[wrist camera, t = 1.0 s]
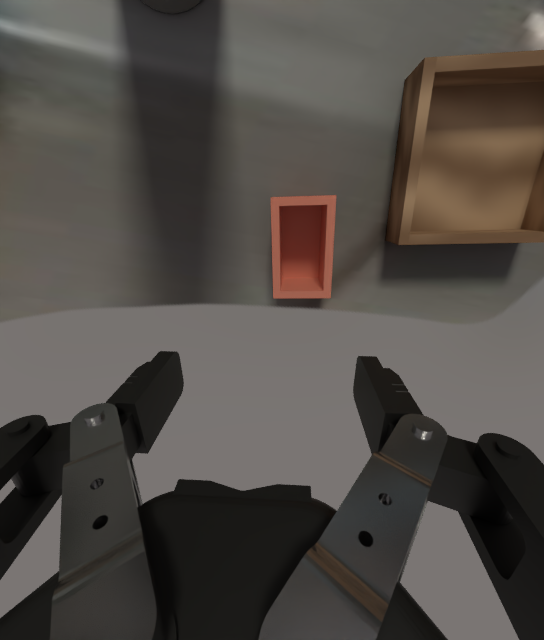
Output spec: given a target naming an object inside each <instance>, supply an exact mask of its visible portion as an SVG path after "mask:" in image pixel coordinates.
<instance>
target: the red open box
mask: <svg viewBox="0 0 544 640" xmlns="http://www.w3.org/2000/svg"><path fill="white" fill-rule="evenodd" d="M335 210H336V195H329V196H297V197H271V227H272V265H273V298H331V282H332V264H333V246H334V228H335Z"/></svg>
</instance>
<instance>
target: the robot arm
mask: <svg viewBox="0 0 544 640" xmlns="http://www.w3.org/2000/svg"><path fill="white" fill-rule="evenodd" d="M141 1H142V2H143V3H145V4H146V5H148V6H149V7H151V8H152V9H155V10H157V11H160V12H163V13H174V14H176V13H180V12H184V11H187V10H189V9H191V8H192V7H194V6H196V5H197V4H198V3H199V2H200V1H201V0H141ZM183 384H184V382H183V375H182V370H181V363H180V357H179V354H178V353H177V352H167V351H160V352H159V353H158V354H157V355H156V356H155V357H154V358H153V360H152V361H151V362H146V363H145V364H143V365H142V366H140V367H138V368H137V369H136V370H135V371H134V372H133V373H132V374H131V375H130V377H129V378H128V379H127V380H126V381H125V383H123V384H122V385H121V386H120V387H119V389H118V390H117V391H116V392H115V393H114V394H113V395H112V396H111V397H110V398H109V399H108V401H107V402H106V403H101V404H96V405H93V406H90V407H88V408H86V409H84V410H82V411H81V412H79V413H78V414H77V415H76V416H75V417H74V418H73V419H72V421H71V422H68V423H62V424H57V425H52V426H48V424H47V422H46V420H45V418H44V417H43V416H40V415H31V416H26V417H22V418H19V419H17V420H14V421H12V422H10V423H8V424H6V425H5V426H3V427H1V428H0V490H1V489H2V488H3V486H4V485H5V484H6V483H7V482H8V481H9V480H10V479H12V481H13V483H14V484H15V486H16V487H15V488H14V489H13V490H12V491H11V492H10V494H9V495H8V496H7V497H6V498H5V499H4V500H3V501H2V502H1V504H0V580H1V578H2V577H3V575H4V574H5V573H6V571H7V570H8V568H9V567H10V566H11V564H12V563H13V561H14V560H15V559H16V557H17V556H18V554H19V553H20V552H21V550H22V549H23V548H24V546H25V545H26V543H27V542H28V541H29V539H30V538H31V536H32V535H33V534H34V532H35V531H36V529H37V528H38V527H39V525H40V524H41V522H42V521H43V519H44V518H45V517H46V516H47V514H48V513H49V511H50V510H51V509H52V507H53V506H54V504H55V503H56V501H57V500H58V499H59V497H60V496H61V495H62V506H61V534H60V561H59V571H58V572H57V573H56V574H55V575H53V576H52V577H51V578H50V579H49V580H47V581H46V582H45V583H43V584H42V585H41V586H40V587H39V588H37V589H36V590H35V591H34V592H32V593H31V594H30V595H29V596H27V597H26V598H25V599H24V600H22V601H21V602H20V603H19V604H17V605H16V606H15V607H14V608H13V609H11V610H10V611H9V612H8V613H6V614H5V615H4V616H3V617H1V618H0V640H448V639H447V638H446V637H445V636H444V635H443V633H442V632H441V631H440V630H439V629H438V627H437V626H436V625H435V624H434V623H433V622H432V620H431V619H430V618H429V617H428V616H427V614H426V613H425V612H424V611H423V609H422V608H421V607H420V606H419V605H418V604H417V602H416V601H415V600H414V599H413V598H412V597H411V595H410V594H409V593H408V592H407V590H406V589H405V588H404V587H403V586H402V584H401V583H400V581H401V578H402V575H403V572H404V569H405V566H406V563H407V560H408V557H409V554H410V551H411V548H412V545H413V542H414V539H415V536H416V534H417V531H418V528H419V525H420V522H421V519H422V516H423V513H424V510H425V508H426V504H427V502H428V501H430V502H433V503H436V504H439V505H442V506H445V507H447V508H450V509H453V510H456V511H458V512H459V514H460V516H461V519H462V521H463V523H464V525H465V527H466V529H467V531H468V533H469V535H470V538H471V540H472V542H473V544H474V546H475V548H476V550H477V552H478V554H479V556H480V558H481V560H482V563H483V565H484V567H485V569H486V571H487V573H488V575H489V577H490V579H491V581H492V583H493V585H494V588H495V590H496V592H497V594H498V596H499V598H500V600H501V602H502V604H503V606H504V608H505V611H506V613H507V615H508V617H509V619H510V621H511V623H512V625H513V627H514V629H515V632H516V633H517V635H518V638H519V640H544V465H543V463H541V461H540V460H539V459H538V458H537V457H536V455H535V454H534V453H533V452H532V451H531V450H530V449H528V448H527V447H526V446H524V445H523V444H521V443H519V442H518V441H516V440H514V439H512V438H510V437H507V436H504V435H500V434H495V433H487V434H483V435H482V436H480V437H479V440H478V442H477V443H473V442H470V441H466V440H462V439H458V438H455V437H452V436H449V435H447V432H446V431H445V429H444V428H443V427H442V426H441V425H440V424H439V423H438V422H436V421H435V420H433V419H431V418H429V417H427V416H424V415H423V414H422V412H421V410H420V409H419V407H418V406H417V404H416V402H415V401H414V399H413V398H412V396H411V394H410V393H409V392H408V389H407V388H406V386H405V385H404V383H403V381H402V380H401V378H400V377H399V375H397V374H396V373H395V372H394V371H392V370H391V369H390V368H383V367H382V365H381V364H380V362H379V360H378V358H377V357H372V356H371V357H370V356H369V357H368V356H358V358H357V364H356V371H355V379H354V387H353V393H354V400H355V403H356V406H357V409H358V412H359V416H360V419H361V422H362V425H363V428H364V431H365V434H366V437H367V440H368V444H369V447H370V449H371V453H372V456H371V457H370V459H369V461H368V462H367V464H366V465H365V467H364V469H363V470H362V472H361V473H360V475H359V477H358V478H357V480H356V481H355V483H354V485H353V486H352V488H351V490H350V491H349V493H348V494H347V496H346V497H345V499H344V501H343V502H342V504H341V505H340V507H339V509H338V510H337V511H336V510H335V509H333V508H332V507H330V506H329V505H327V504H326V503H324V502H321V501H319V500H317V499H314V498H311V487H310V486H301V485H300V486H299V485H281V484H277V485H272V486H266V487H261V488H256V489H252V490H246V491H240V490H237V489H234V488H230V487H227V486H224V485H222V484H218V483H215V482H212V481H203V480H184V479H179V480H178V482H177V485H176V487H175V490H174V491H171V492H168V493H165V494H162V495H160V496H157V497H155V498H153V499H151V500H149V501H147V502H145V503H144V504H143V503H142V500H141V495H140V491H139V487H138V482H137V478H136V474H135V469H134V465H133V462H132V458H133V456H134V454H135V453H148V452H149V450H150V449H151V447H152V445H153V443H154V442H155V440H156V438H157V436H158V435H159V433H160V431H161V429H162V427H163V426H164V424H165V422H166V420H167V419H168V417H169V415H170V413H171V412H172V410H173V408H174V406H175V405H176V403H177V401H178V399H179V397H180V396H181V394H182V391H183Z"/></svg>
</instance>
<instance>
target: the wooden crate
mask: <svg viewBox="0 0 544 640" xmlns="http://www.w3.org/2000/svg"><path fill="white" fill-rule="evenodd" d="M385 240H386V241H389V242H392V243H394V244H397V245H421V244H476V243H530V242H544V50H536V51H521V52H506V53H490V54H475V55H459V56H444V57H429V58H424V59H423V60H422V62H421V63H420V64H419V65H418V66H417V67H416V68H415V69H414V71H413V72H412V73H411V74H410V75H409V76H408V77H407V78H406V80H405V84H404V92H403V100H402V108H401V116H400V125H399V133H398V141H397V149H396V157H395V165H394V173H393V181H392V189H391V197H390V205H389V214H388V222H387V230H386V238H385Z"/></svg>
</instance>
